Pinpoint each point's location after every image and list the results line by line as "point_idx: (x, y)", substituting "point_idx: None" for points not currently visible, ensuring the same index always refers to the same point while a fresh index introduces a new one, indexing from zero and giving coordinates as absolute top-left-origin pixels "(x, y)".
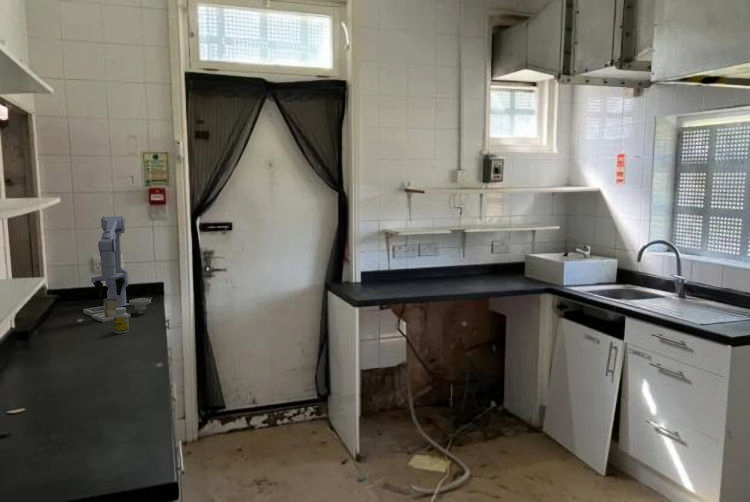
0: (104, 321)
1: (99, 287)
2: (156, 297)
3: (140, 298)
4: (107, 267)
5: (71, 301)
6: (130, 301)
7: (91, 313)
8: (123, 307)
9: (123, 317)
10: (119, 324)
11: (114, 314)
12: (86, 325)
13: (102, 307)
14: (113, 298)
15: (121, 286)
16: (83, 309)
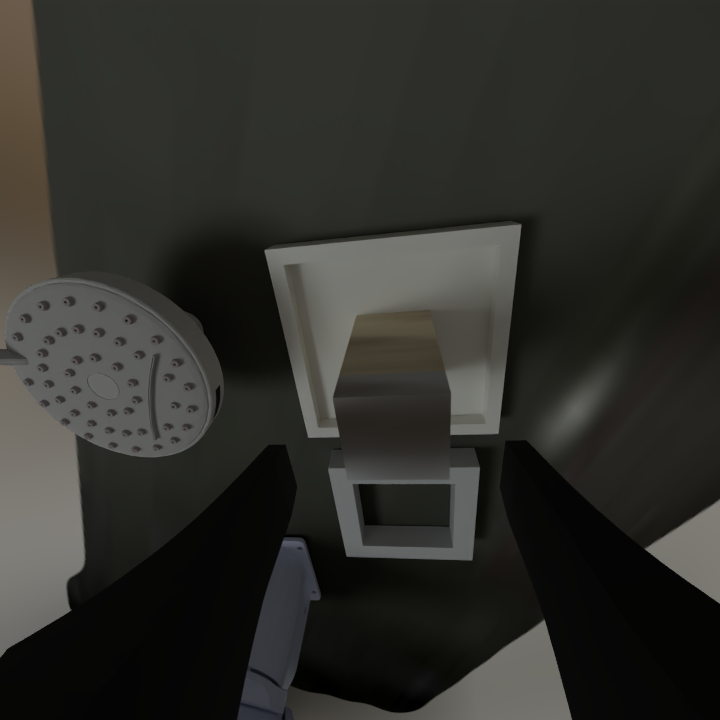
0: (501, 222)
1: (717, 614)
2: (94, 578)
3: (102, 421)
4: None
5: (409, 687)
6: (200, 382)
7: (478, 467)
8: None
9: None
10: None
11: None
12: (662, 216)
13: (367, 542)
14: (353, 442)
15: (179, 548)
16: (471, 557)
